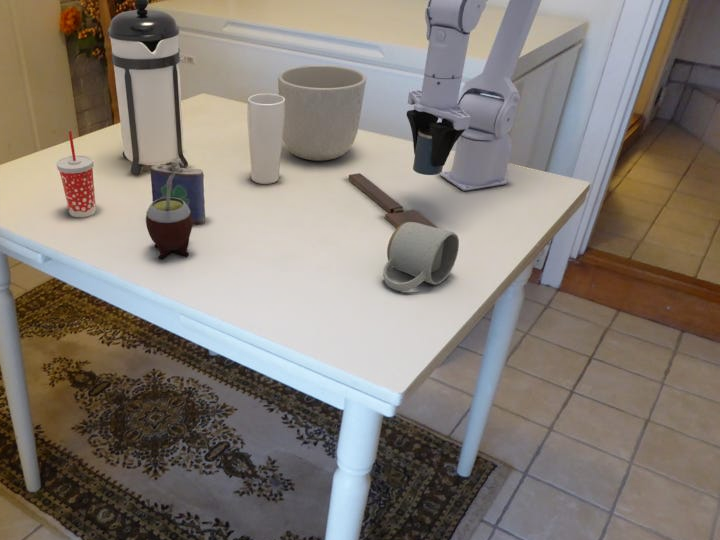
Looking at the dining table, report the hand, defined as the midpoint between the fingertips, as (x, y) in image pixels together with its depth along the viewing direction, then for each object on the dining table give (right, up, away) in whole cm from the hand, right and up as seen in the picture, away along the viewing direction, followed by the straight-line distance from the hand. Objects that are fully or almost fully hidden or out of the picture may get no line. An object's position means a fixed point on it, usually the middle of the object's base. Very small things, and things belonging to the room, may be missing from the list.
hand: (428, 159), depth 113 cm
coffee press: (-49, +7, +25) cm, 55 cm away
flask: (-42, -10, +3) cm, 43 cm away
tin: (0, -1, +1) cm, 2 cm away
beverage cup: (-59, -8, +6) cm, 60 cm away
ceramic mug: (-6, -21, -13) cm, 26 cm away
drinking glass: (-27, +1, +16) cm, 31 cm away
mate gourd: (-42, -17, -6) cm, 46 cm away
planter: (-16, +9, +27) cm, 33 cm away
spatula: (-6, -6, +7) cm, 11 cm away
